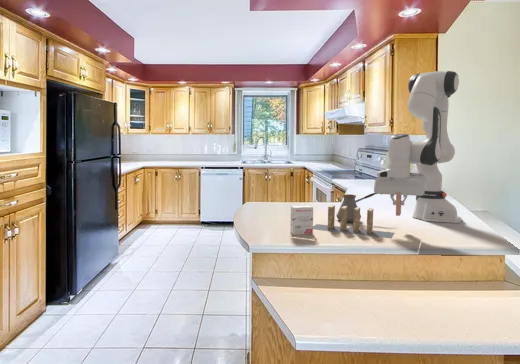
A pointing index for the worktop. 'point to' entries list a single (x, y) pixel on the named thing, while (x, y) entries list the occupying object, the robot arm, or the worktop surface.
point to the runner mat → (350, 231)
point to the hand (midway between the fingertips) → (398, 204)
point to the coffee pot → (350, 206)
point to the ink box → (301, 220)
